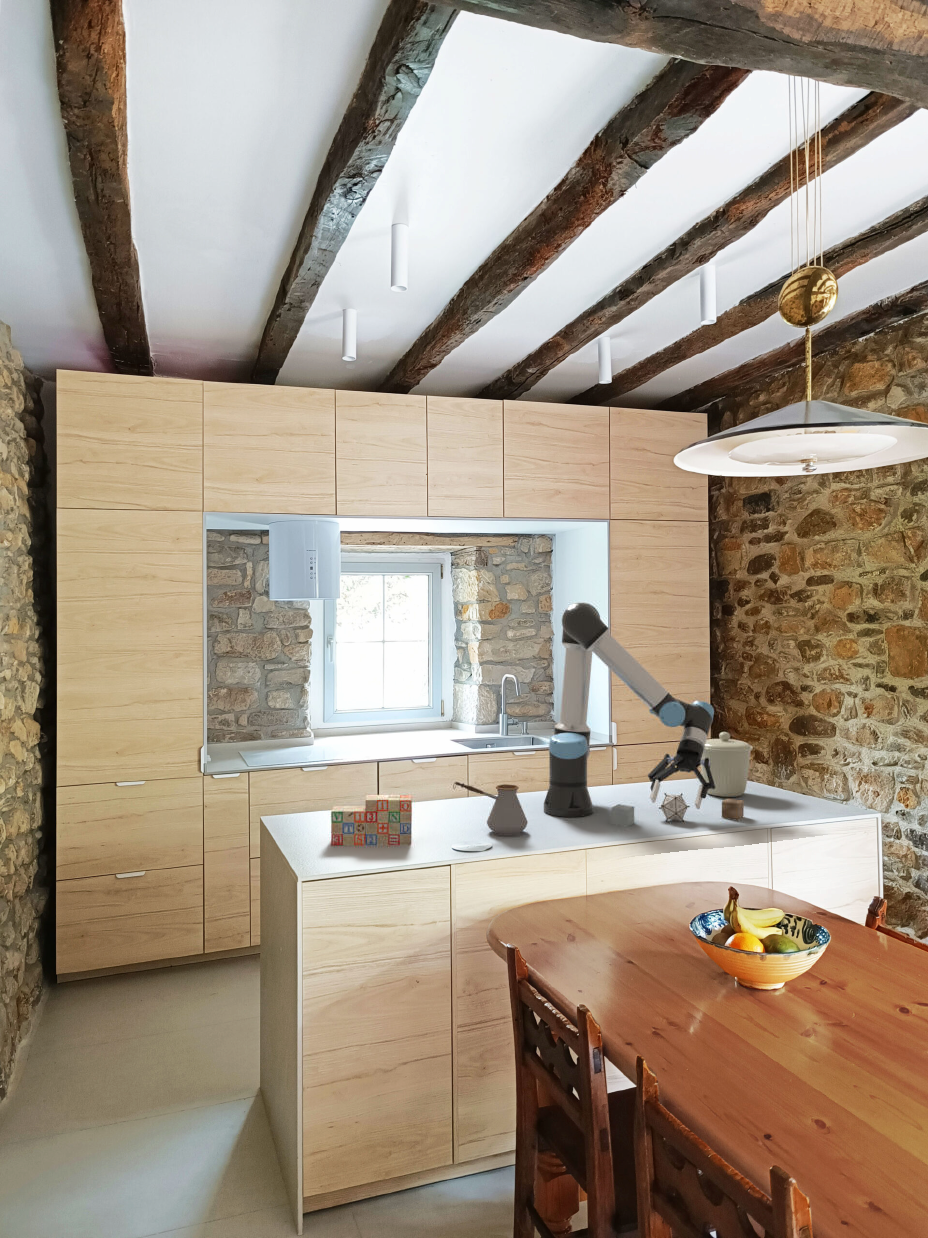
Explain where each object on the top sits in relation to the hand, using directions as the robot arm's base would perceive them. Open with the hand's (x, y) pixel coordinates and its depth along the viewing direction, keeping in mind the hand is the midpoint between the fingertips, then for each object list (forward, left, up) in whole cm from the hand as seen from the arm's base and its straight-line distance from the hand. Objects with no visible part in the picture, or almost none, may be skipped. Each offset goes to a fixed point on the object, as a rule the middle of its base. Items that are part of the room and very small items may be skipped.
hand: (674, 803), depth 248 cm
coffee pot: (-37, -42, -6) cm, 57 cm away
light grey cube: (-11, -11, -5) cm, 17 cm away
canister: (+1, +45, -6) cm, 45 cm away
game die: (0, +1, -6) cm, 6 cm away
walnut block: (+13, +15, -5) cm, 20 cm away
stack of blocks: (-59, -68, -6) cm, 90 cm away
